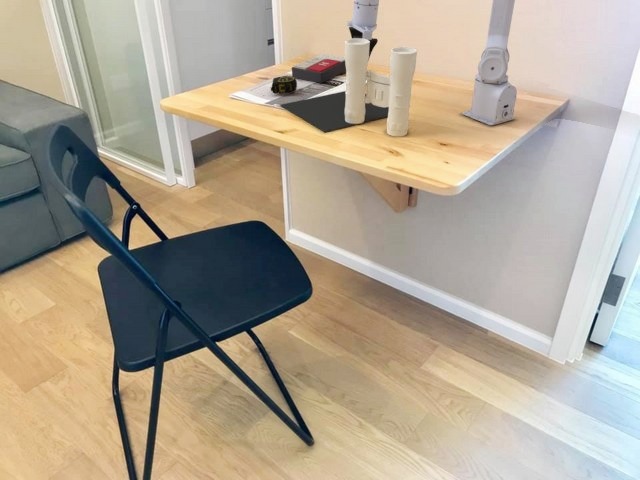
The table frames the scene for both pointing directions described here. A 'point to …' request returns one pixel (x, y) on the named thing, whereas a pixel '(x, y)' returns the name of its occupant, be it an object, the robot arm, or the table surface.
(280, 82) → the tape measure
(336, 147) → the table surface
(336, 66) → the grey and red box
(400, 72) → the binoculars
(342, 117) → the mat
